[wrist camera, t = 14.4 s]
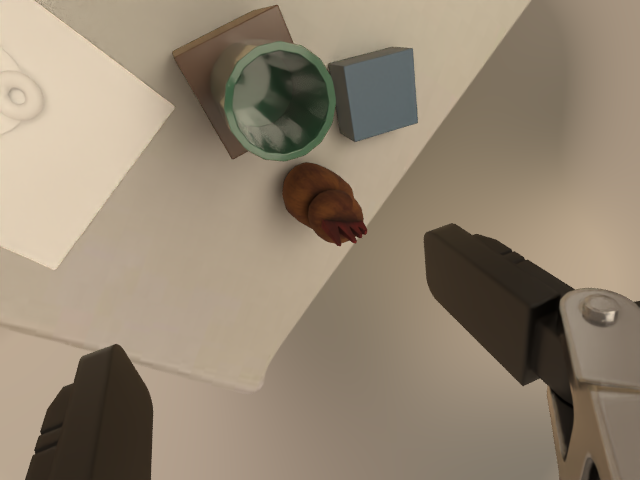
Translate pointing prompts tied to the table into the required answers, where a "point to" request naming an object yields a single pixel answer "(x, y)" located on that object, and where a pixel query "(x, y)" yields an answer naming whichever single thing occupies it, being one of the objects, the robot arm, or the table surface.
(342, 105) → the slate block
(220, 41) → the walnut block
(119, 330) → the table surface
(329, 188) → the wooden figurine
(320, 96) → the cup
